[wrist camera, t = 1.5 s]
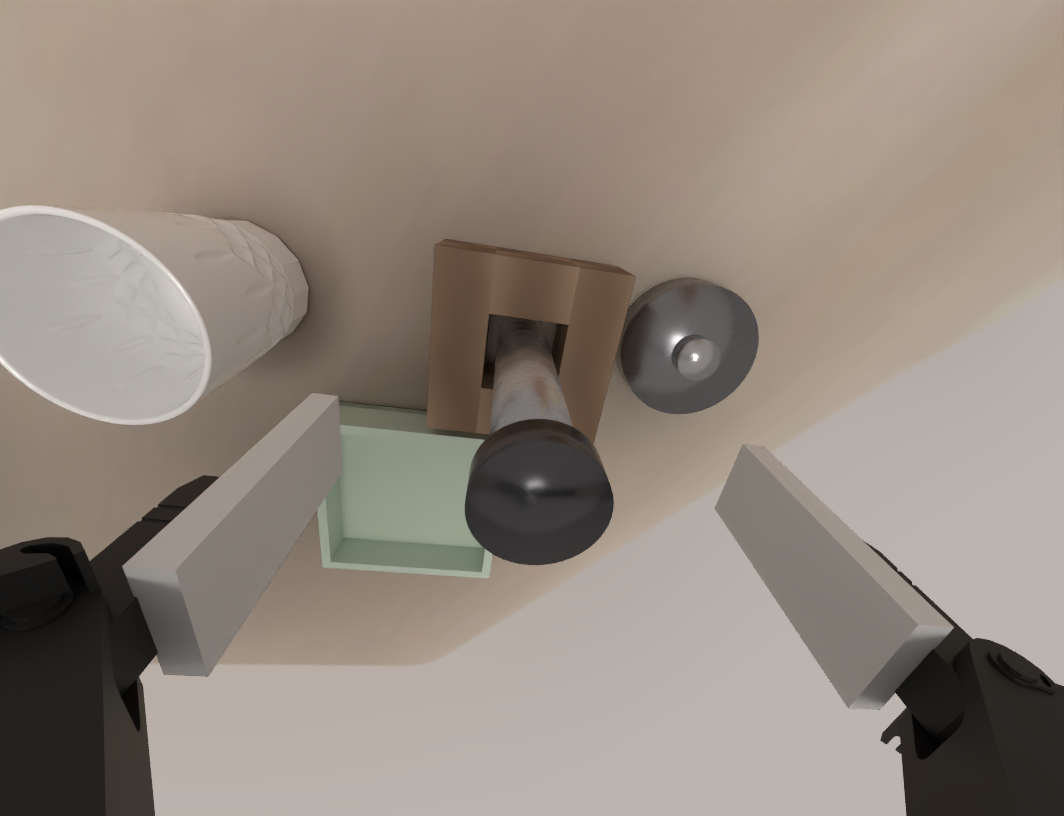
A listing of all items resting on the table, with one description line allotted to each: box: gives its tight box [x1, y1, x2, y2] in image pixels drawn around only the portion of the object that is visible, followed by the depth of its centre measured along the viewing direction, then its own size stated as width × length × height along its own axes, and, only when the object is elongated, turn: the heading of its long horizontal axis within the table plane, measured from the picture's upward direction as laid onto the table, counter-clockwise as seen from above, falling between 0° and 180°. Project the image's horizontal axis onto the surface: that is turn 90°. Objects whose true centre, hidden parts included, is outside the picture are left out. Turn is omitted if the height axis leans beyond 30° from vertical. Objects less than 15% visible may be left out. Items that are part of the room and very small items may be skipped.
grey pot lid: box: [616, 278, 759, 414], centre depth 25 cm, size 8×8×4 cm
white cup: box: [0, 205, 309, 425], centre depth 19 cm, size 8×8×10 cm
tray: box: [317, 401, 493, 579], centre depth 29 cm, size 12×12×3 cm
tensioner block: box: [426, 239, 636, 444], centre depth 24 cm, size 10×10×4 cm
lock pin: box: [465, 316, 614, 565], centre depth 18 cm, size 4×4×16 cm
